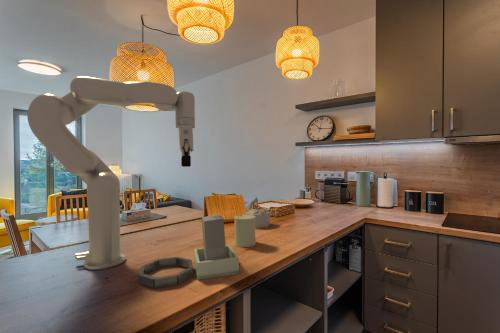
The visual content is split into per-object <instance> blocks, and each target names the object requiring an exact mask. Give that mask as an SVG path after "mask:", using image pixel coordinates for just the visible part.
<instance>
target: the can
mask: <svg viewBox="0 0 500 333" xmlns="http://www.w3.org/2000/svg"><path fill="white" fill-rule="evenodd" d="M233 218H234V220H233V222H234V227H233V228H234V243H233V244H234V246H236V247H240V248H250V247H254V246H255V245H256V244H257V242H256V228H255V216H253V215H246V214H238V215H235V216H234V217H233Z"/></svg>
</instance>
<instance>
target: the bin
mask: <svg viewBox="0 0 500 333" xmlns="http://www.w3.org/2000/svg"><path fill="white" fill-rule="evenodd" d="M225 246H226V258H225V259H217V260H209V261H205V259H204V247H203V248H193V249H194V250H193V256H194V257H193V258H194V259H193V260H194V262H193V266H194V269H195V274H196V280H197V281H201V280H206V279H213V278H220V277H226V276H227V277H228V276H234V275H239V274H240V268H239V267H240V266H239V265H240V264H239V256H238V255H237V253H236V252H235V250H234V249H233V247H232V246H231V244H227V245H226V244H225Z"/></svg>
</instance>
